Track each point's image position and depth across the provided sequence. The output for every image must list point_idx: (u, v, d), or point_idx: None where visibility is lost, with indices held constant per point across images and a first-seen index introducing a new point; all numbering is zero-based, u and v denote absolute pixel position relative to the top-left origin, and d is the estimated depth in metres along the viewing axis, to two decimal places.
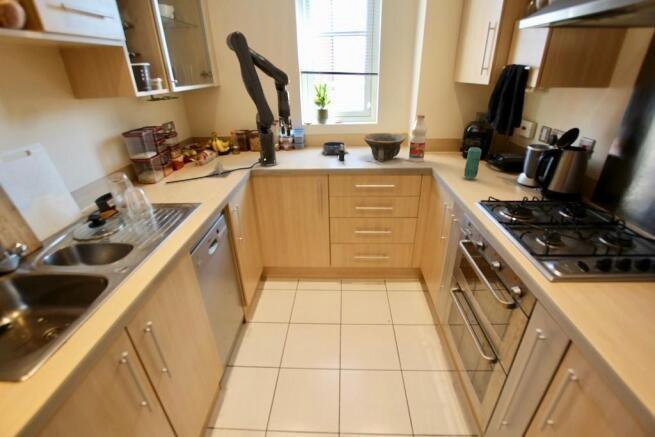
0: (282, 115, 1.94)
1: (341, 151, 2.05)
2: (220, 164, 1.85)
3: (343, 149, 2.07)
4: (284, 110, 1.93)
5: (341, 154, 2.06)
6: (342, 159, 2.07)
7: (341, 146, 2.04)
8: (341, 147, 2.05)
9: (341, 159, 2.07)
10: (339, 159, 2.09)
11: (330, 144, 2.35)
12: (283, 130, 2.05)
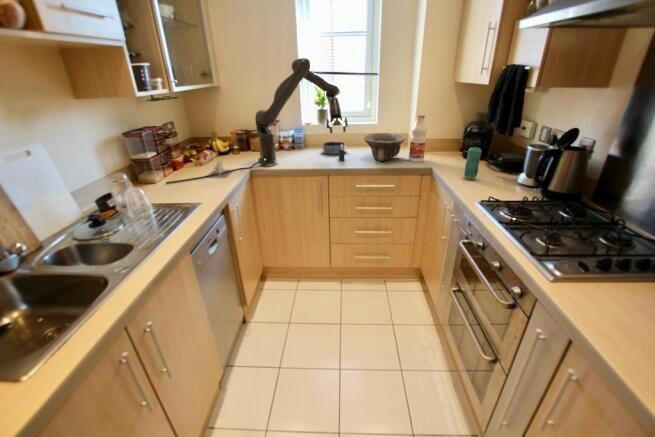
0: (340, 113, 2.14)
1: (341, 151, 2.05)
2: (220, 164, 1.85)
3: (343, 149, 2.07)
4: (340, 111, 2.16)
5: (341, 154, 2.06)
6: (342, 159, 2.07)
7: (341, 146, 2.04)
8: (341, 147, 2.05)
9: (341, 159, 2.07)
10: (339, 159, 2.09)
11: (330, 144, 2.35)
12: (331, 129, 2.13)
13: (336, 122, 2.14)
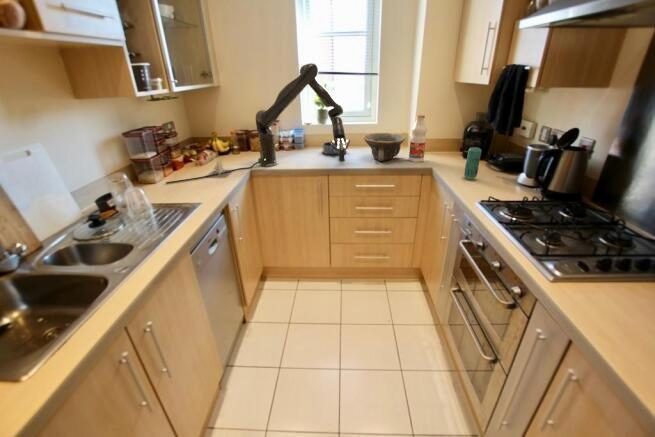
0: (343, 134, 2.08)
1: (341, 151, 2.05)
2: (220, 164, 1.85)
3: (343, 149, 2.07)
4: None
5: (341, 154, 2.06)
6: (342, 159, 2.07)
7: (341, 146, 2.04)
8: (341, 147, 2.05)
9: (341, 159, 2.07)
10: (339, 159, 2.09)
11: (330, 144, 2.35)
12: None
13: (340, 142, 2.08)
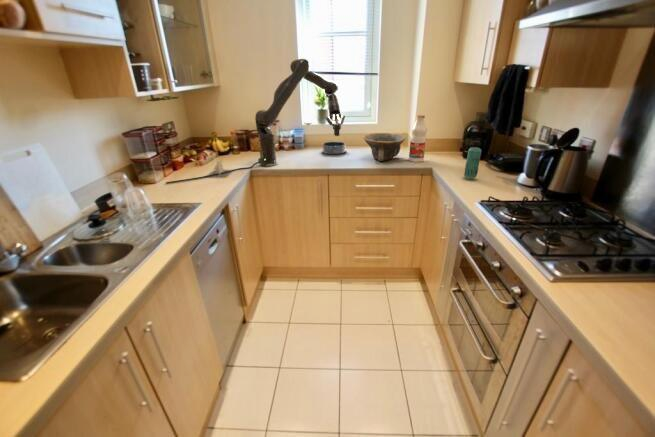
0: (338, 110, 2.16)
1: (336, 126, 2.12)
2: (220, 164, 1.85)
3: None
4: None
5: (336, 129, 2.13)
6: (337, 134, 2.15)
7: (336, 121, 2.12)
8: (336, 122, 2.12)
9: (336, 134, 2.14)
10: (334, 134, 2.17)
11: (330, 144, 2.35)
12: (334, 126, 2.14)
13: (335, 118, 2.15)
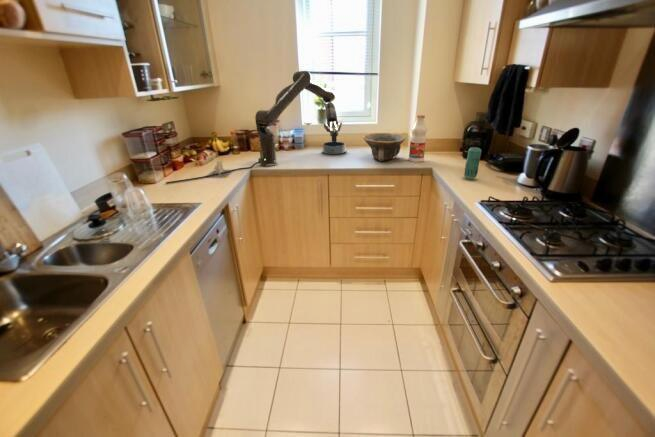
0: (336, 117, 2.26)
1: (333, 133, 2.22)
2: (220, 164, 1.85)
3: (335, 131, 2.24)
4: (336, 115, 2.28)
5: (333, 136, 2.23)
6: (334, 140, 2.25)
7: (333, 128, 2.22)
8: (333, 129, 2.22)
9: (333, 140, 2.25)
10: (332, 141, 2.27)
11: (330, 144, 2.35)
12: None
13: (332, 125, 2.25)
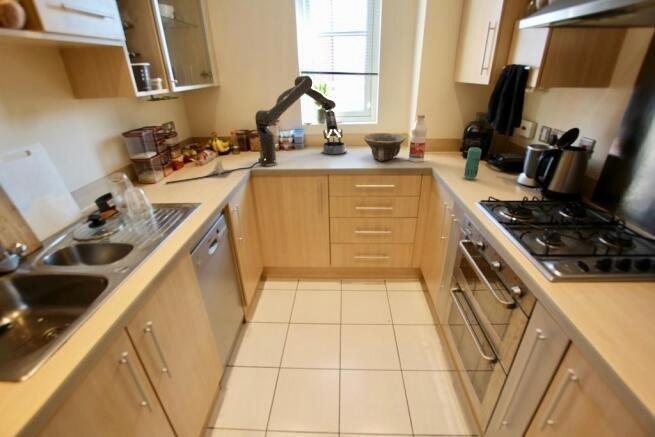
0: (336, 125, 2.28)
1: (333, 143, 2.25)
2: (220, 164, 1.85)
3: (335, 141, 2.27)
4: (336, 123, 2.31)
5: None
6: None
7: (333, 138, 2.25)
8: (333, 139, 2.25)
9: None
10: None
11: (330, 144, 2.35)
12: (329, 140, 2.26)
13: (332, 133, 2.27)
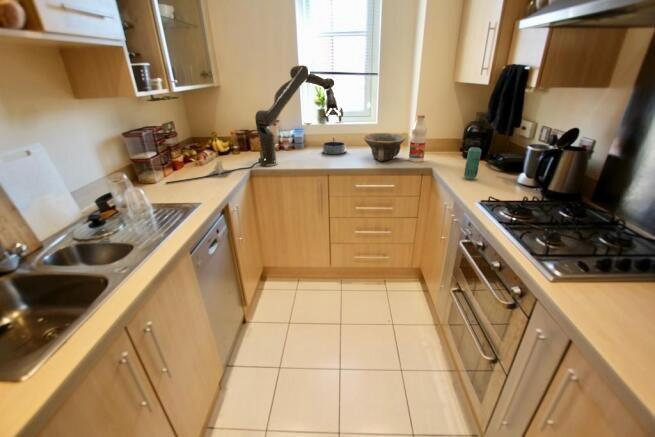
0: (336, 104, 2.22)
1: (333, 143, 2.25)
2: (220, 164, 1.85)
3: (335, 141, 2.27)
4: None
5: None
6: None
7: (333, 138, 2.25)
8: (333, 139, 2.25)
9: None
10: None
11: (330, 144, 2.35)
12: None
13: (332, 112, 2.21)
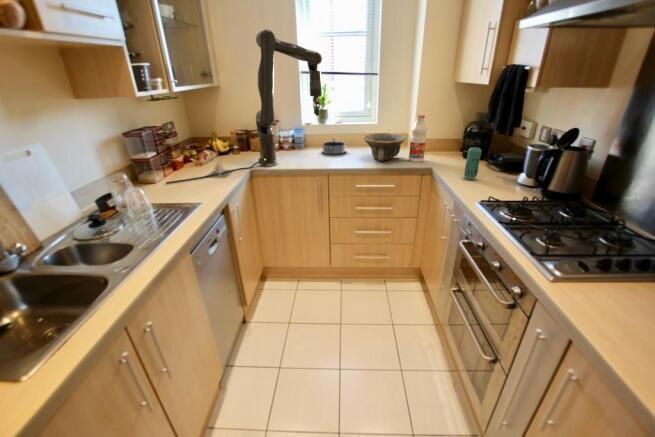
0: (312, 94, 1.98)
1: (333, 143, 2.25)
2: (220, 164, 1.85)
3: (335, 141, 2.27)
4: (314, 89, 1.96)
5: None
6: None
7: (333, 138, 2.25)
8: (333, 139, 2.25)
9: None
10: None
11: (330, 144, 2.35)
12: None
13: None
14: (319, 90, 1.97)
